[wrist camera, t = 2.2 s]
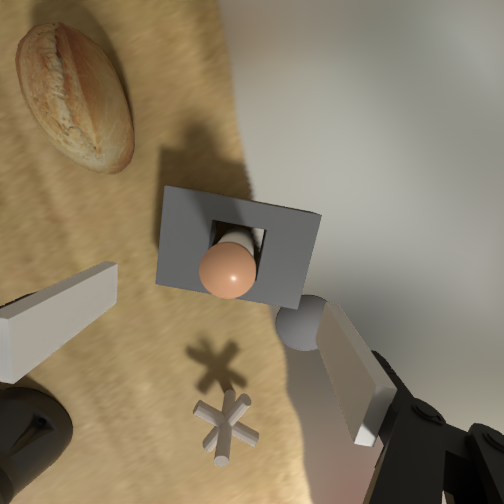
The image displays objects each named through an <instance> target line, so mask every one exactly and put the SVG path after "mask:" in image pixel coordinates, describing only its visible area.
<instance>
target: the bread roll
mask: <svg viewBox="0 0 504 504" xmlns="http://www.w3.org/2000/svg"><path fill="white" fill-rule="evenodd" d="M15 62H16V70H17V75H18V79H19V83H20V87H21V91H22V94H23V97H24V100H25V102H26V105H27V107H28V109H29V110H30V112H31V114H32V116H33V118H34V120H35V122H36V123H37V125H38V126H39V128H40V129H41V131H42V132H43V134H44V135H45V136H46V138H47V139H48V140H49V141H50V143H51V144H52V145H53V146H54V147H55V148H56V149H57V150H59V151H60V152H61V153H62V154H63V155H65V156H66V157H67V158H68V159H70V160H72V161H73V162H75V163H76V164H78V165H80V166H82V167H84V168H86V169H89V170H91V171H94V172H97V173H103V174H116V173H119V172H120V171H122V170H123V169H124V168H125V167H126V166H127V165H128V164H129V163H130V162H131V159H132V156H133V153H134V147H135V142H134V128H133V125H132V120H131V116H130V112H129V108H128V104H127V101H126V98H125V95H124V92H123V89H122V86H121V83H120V81H119V78H118V76H117V73H116V71H115V69H114V67H113V65H112V63H111V62H110V60H109V59H108V58H107V56H106V55H105V54H104V52H103V51H102V50H101V49H100V48H99V46H98V45H97V44H96V43H94V42H93V41H92V40H91V39H90V38H89V37H87V36H86V35H85V34H83V33H81V32H80V31H78V30H76V29H73V28H70V27H68V26H66V25H64V24H63V23H61V22H59V24H55V23H47V24H44V25H40V26H36V27H33V28H32V29H31V30H30V31H29V32H28V33H27V34H26V35H25V36H24V37H23V38H22V39H21V41H20V42H19V44H18V49H17V53H16V58H15Z"/></svg>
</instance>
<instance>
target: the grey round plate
mask: <svg viewBox="0 0 504 504" xmlns="http://www.w3.org/2000/svg"><path fill="white" fill-rule="evenodd" d="M326 302H327V301H326V300H324V299H323V298H321V297H318V296H314V295H301V298H300V302H299V306H298V310H297V309H291V308H286V307H281V308H280V310H279V312H278V314H277V317H276V330H277V333H278V335H279V337H280V339H281V340H282V341H283V342H284V343H285V344H286V345H288V346H289V347H291V348H293V349H296V350H301V351H308V350H315V349H318V346H317V344H316V341H315V338H316V334H317V331H318V327H319V324H320V321H321V317H322V314H323V310H324V307H325V303H326Z"/></svg>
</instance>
